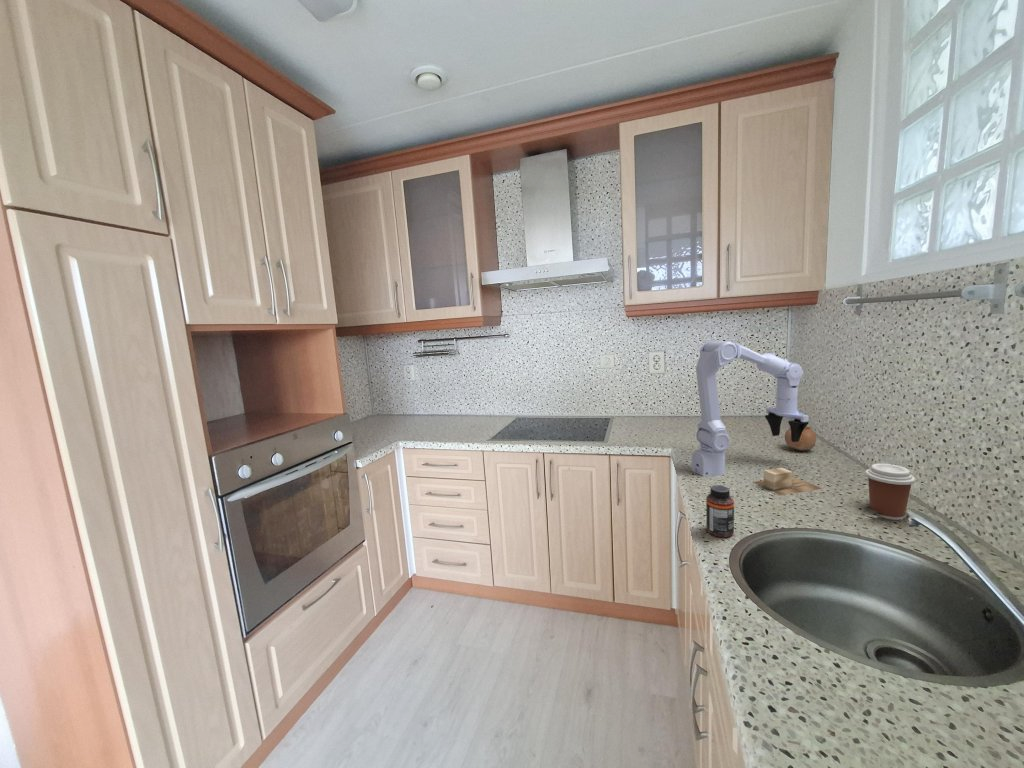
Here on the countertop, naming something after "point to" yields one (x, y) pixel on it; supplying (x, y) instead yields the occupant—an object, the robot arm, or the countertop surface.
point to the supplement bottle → (720, 512)
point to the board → (793, 487)
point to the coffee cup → (889, 490)
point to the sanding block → (777, 479)
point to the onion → (802, 439)
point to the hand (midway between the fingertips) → (785, 438)
